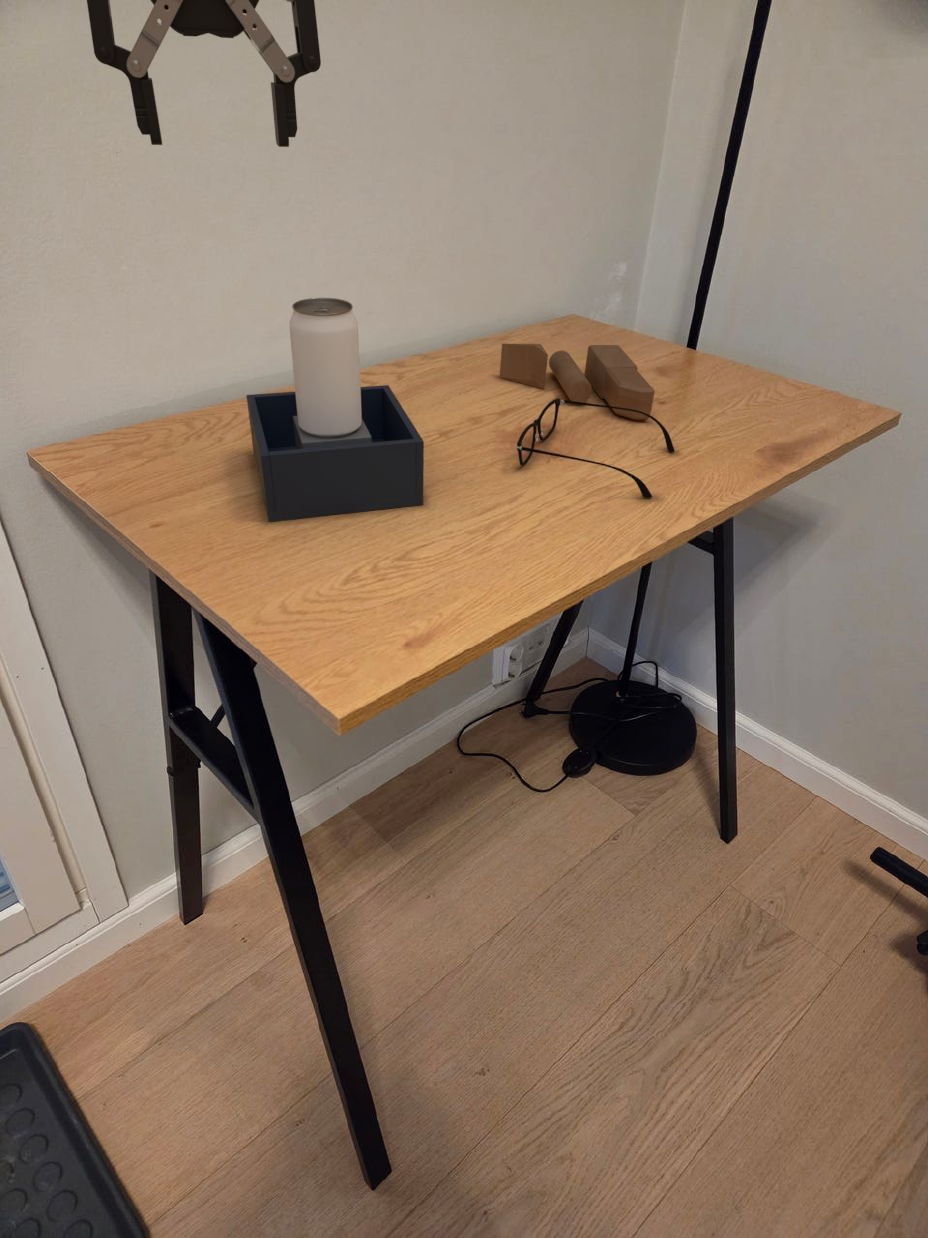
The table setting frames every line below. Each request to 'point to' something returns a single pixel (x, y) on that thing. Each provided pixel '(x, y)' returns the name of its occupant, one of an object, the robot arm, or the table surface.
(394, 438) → the crate
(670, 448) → the eyeglasses
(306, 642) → the table surface
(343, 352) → the can
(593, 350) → the wooden block set
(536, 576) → the table surface
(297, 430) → the grey block
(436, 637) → the table surface
